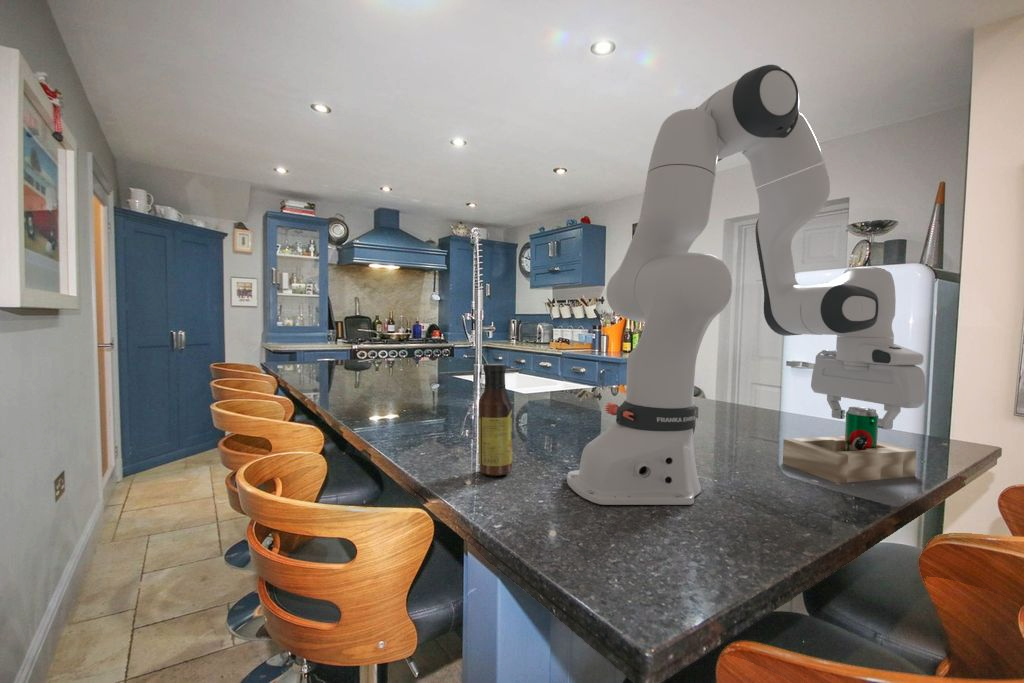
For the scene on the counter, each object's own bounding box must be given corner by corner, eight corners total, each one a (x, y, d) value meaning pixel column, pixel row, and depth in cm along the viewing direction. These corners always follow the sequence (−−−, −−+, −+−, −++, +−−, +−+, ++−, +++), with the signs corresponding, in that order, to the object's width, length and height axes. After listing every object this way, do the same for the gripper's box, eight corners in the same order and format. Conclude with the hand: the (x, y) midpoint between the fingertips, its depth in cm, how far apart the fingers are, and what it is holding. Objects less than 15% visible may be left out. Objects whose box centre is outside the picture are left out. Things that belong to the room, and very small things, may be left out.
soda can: (882, 474, 88) (885, 411, 88) (855, 473, 88) (858, 410, 88) (862, 466, 93) (865, 406, 93) (837, 465, 93) (840, 406, 93)
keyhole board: (836, 483, 82) (838, 455, 82) (782, 463, 94) (783, 439, 94) (914, 477, 87) (916, 450, 86) (853, 458, 98) (854, 435, 98)
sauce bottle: (518, 473, 85) (520, 365, 84) (489, 479, 81) (491, 366, 81) (499, 464, 90) (501, 362, 90) (471, 469, 87) (472, 363, 86)
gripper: (804, 349, 99) (802, 413, 100) (906, 356, 80) (902, 436, 80) (828, 349, 101) (825, 412, 101) (934, 356, 81) (929, 434, 82)
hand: (860, 423), depth 91 cm, fingers open, 8 cm apart
